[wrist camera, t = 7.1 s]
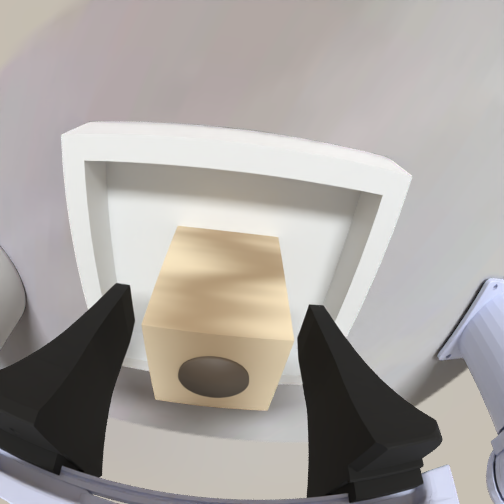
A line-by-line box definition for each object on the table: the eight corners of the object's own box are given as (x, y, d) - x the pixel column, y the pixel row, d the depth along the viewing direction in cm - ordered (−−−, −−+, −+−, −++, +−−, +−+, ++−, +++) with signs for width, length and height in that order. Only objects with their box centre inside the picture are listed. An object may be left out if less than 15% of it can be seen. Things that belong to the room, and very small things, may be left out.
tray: (386, 156, 12) (412, 176, 10) (314, 353, 19) (320, 384, 17) (90, 121, 11) (61, 135, 9) (115, 332, 18) (104, 362, 16)
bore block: (278, 237, 14) (294, 344, 9) (262, 310, 16) (267, 413, 11) (177, 225, 14) (140, 328, 8) (177, 300, 16) (154, 402, 11)
